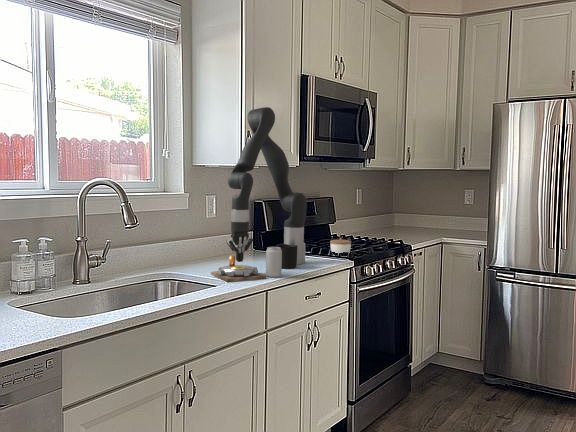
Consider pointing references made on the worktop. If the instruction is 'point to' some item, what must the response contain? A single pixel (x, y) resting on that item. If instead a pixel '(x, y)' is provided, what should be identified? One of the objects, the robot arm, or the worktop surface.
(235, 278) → the board
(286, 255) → the pen holder
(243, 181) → the robot arm
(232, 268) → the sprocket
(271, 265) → the beverage can
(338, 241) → the lidded jar
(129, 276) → the worktop surface
